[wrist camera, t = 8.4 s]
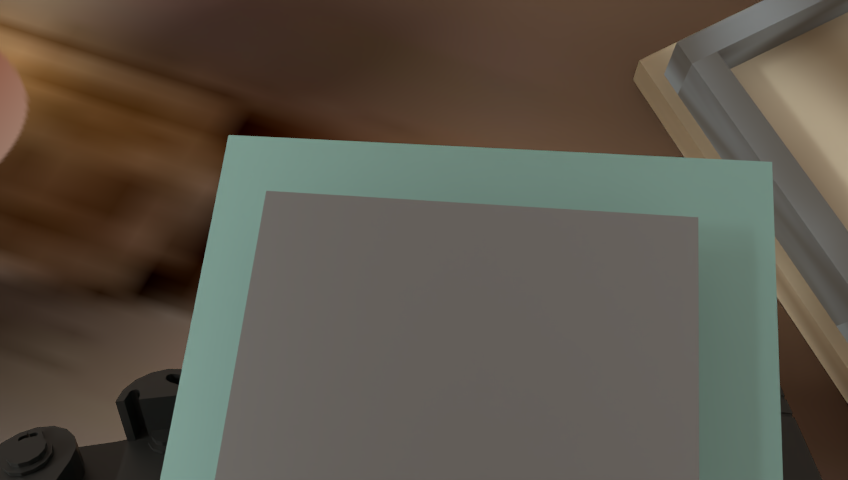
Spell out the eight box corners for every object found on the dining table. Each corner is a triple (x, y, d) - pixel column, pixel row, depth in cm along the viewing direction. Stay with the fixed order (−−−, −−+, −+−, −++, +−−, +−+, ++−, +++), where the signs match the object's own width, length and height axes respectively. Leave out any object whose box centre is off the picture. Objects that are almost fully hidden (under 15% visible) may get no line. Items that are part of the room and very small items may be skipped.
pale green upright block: (599, 566, 17) (857, 941, 4) (367, 535, 18) (38, 776, 5) (607, 330, 18) (814, 117, 6) (393, 311, 19) (190, 93, 7)
